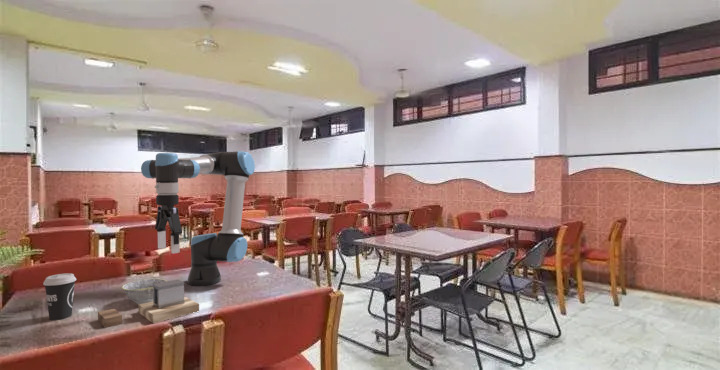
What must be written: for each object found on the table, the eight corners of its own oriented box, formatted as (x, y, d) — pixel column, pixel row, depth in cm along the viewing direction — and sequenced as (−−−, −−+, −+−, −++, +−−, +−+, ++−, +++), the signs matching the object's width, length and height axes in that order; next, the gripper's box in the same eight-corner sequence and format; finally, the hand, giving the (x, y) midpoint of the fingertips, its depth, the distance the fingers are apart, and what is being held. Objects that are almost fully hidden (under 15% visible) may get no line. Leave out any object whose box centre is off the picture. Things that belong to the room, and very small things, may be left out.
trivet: (138, 312, 143) (138, 304, 143) (182, 302, 155) (182, 294, 155) (153, 323, 132) (153, 314, 132) (199, 311, 144) (199, 303, 144)
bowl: (135, 311, 145) (135, 291, 145) (114, 304, 154) (114, 285, 153) (175, 299, 159) (174, 281, 159) (153, 293, 167) (153, 276, 167)
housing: (178, 299, 149) (177, 279, 149) (184, 303, 145) (184, 282, 145) (153, 305, 143) (152, 284, 142) (159, 309, 138) (158, 287, 138)
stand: (97, 320, 136) (97, 311, 136) (114, 316, 139) (113, 308, 139) (105, 327, 129) (105, 319, 129) (122, 323, 133) (121, 315, 132)
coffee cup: (56, 312, 144) (55, 273, 143) (82, 311, 144) (82, 272, 144) (36, 322, 134) (36, 279, 134) (65, 321, 135) (64, 279, 135)
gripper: (145, 193, 149) (146, 247, 149) (169, 195, 132) (170, 256, 132) (165, 192, 154) (166, 245, 155) (191, 194, 137) (192, 253, 138)
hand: (168, 250), depth 144 cm, fingers open, 13 cm apart
